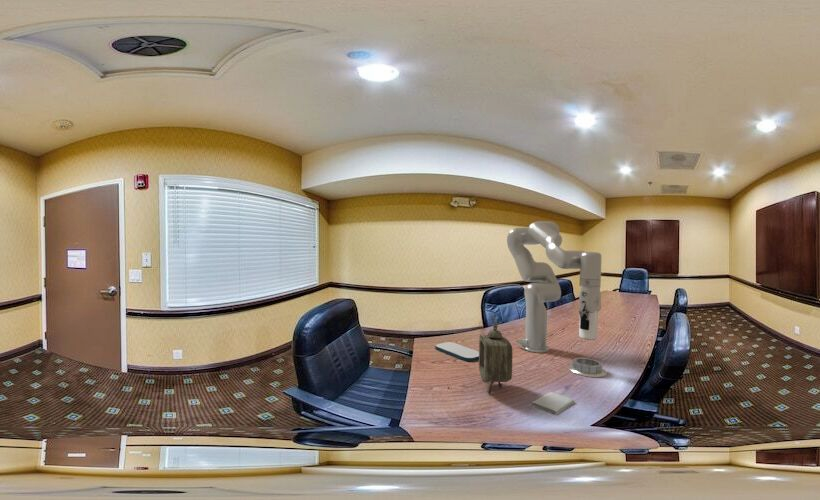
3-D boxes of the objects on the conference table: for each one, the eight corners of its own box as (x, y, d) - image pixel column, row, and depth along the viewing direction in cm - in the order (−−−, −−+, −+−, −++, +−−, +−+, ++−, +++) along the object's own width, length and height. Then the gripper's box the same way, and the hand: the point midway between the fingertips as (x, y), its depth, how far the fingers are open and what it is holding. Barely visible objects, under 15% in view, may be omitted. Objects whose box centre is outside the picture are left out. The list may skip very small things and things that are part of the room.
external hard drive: (487, 358, 163) (487, 354, 162) (468, 363, 156) (468, 359, 156) (450, 345, 181) (450, 341, 181) (432, 349, 174) (432, 345, 174)
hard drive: (556, 411, 112) (574, 399, 120) (531, 401, 118) (550, 390, 126) (555, 416, 112) (574, 404, 120) (531, 407, 118) (550, 395, 126)
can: (596, 336, 149) (597, 307, 149) (597, 341, 144) (598, 310, 143) (579, 334, 152) (580, 305, 152) (578, 338, 146) (579, 308, 146)
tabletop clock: (478, 379, 138) (479, 312, 137) (502, 379, 138) (504, 313, 137) (484, 396, 124) (486, 321, 123) (512, 396, 124) (514, 322, 122)
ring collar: (575, 376, 142) (576, 367, 142) (563, 363, 156) (563, 355, 156) (613, 378, 141) (614, 369, 141) (597, 365, 155) (597, 356, 155)
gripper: (590, 286, 138) (588, 333, 139) (608, 282, 150) (607, 326, 151) (570, 283, 144) (569, 329, 145) (589, 280, 155) (588, 323, 156)
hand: (588, 327), depth 148 cm, fingers closed on can, 6 cm apart
